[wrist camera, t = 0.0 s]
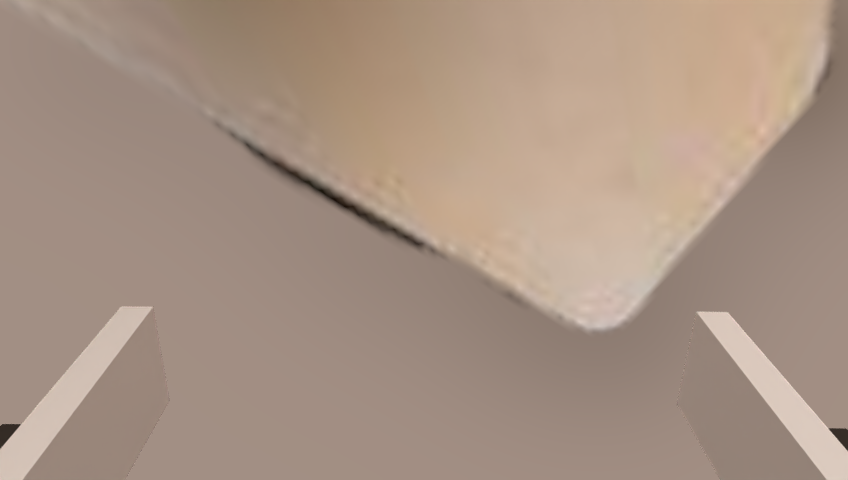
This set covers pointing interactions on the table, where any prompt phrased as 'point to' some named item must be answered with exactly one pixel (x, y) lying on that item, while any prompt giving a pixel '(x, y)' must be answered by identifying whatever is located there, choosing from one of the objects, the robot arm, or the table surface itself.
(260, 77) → the table surface
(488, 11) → the table surface
